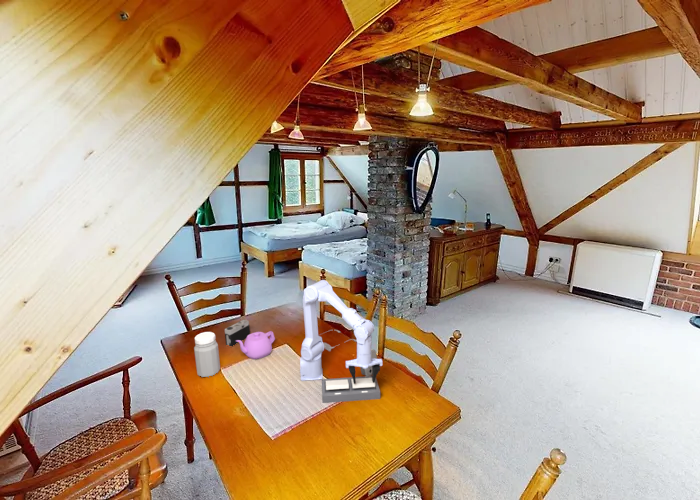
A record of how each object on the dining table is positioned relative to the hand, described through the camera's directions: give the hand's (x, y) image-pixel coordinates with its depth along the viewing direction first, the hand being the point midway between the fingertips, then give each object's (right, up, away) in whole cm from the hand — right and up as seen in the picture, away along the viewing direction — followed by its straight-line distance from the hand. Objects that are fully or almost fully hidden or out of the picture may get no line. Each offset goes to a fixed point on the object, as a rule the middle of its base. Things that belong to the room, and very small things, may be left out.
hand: (363, 381), depth 136 cm
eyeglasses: (-13, +4, +44) cm, 46 cm away
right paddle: (0, -2, +3) cm, 4 cm away
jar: (-69, -2, +17) cm, 71 cm away
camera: (-67, +4, +46) cm, 81 cm away
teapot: (-52, +1, +32) cm, 61 cm away
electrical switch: (+3, -2, +17) cm, 18 cm away
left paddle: (-11, -3, +2) cm, 11 cm away
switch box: (-6, -5, +3) cm, 8 cm away
